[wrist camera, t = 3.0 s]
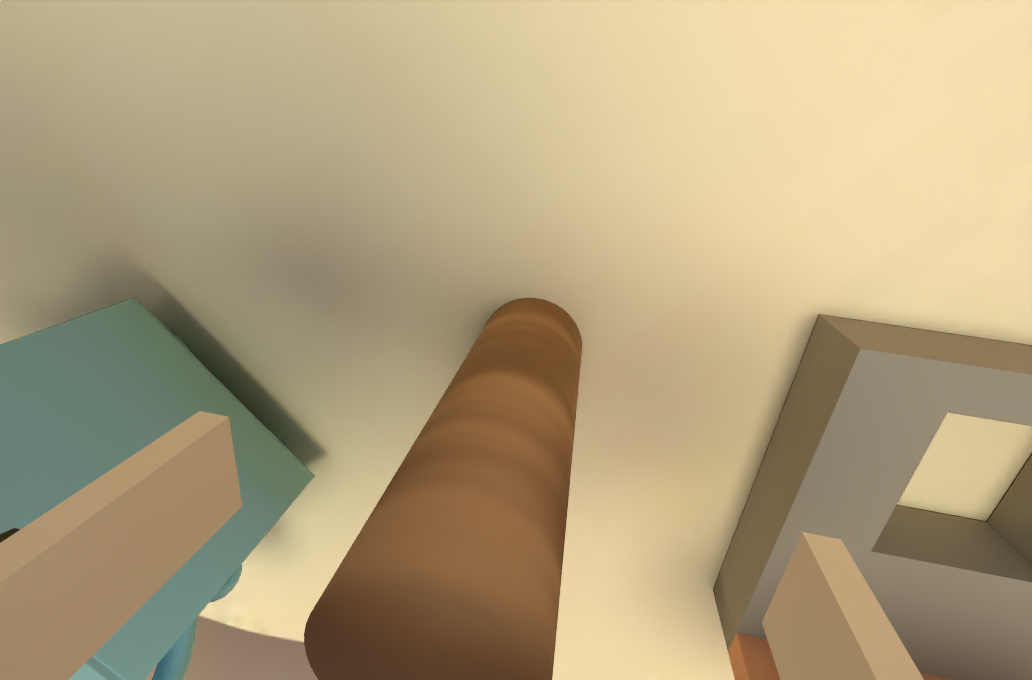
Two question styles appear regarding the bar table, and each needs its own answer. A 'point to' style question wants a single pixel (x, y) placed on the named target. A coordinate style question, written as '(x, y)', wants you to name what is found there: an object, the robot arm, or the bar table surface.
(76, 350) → the teal cube teapot
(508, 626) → the walnut peg
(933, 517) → the socket stand
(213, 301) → the bar table surface
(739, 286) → the bar table surface
